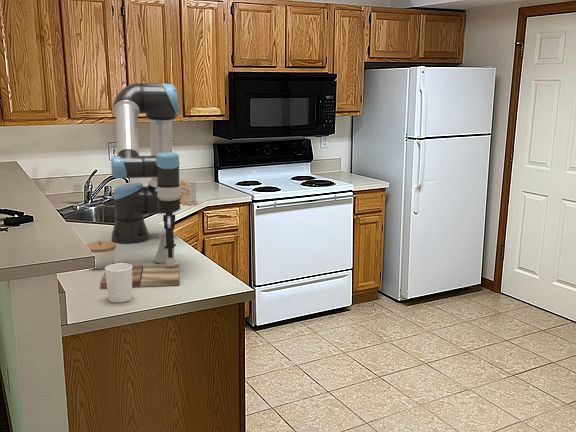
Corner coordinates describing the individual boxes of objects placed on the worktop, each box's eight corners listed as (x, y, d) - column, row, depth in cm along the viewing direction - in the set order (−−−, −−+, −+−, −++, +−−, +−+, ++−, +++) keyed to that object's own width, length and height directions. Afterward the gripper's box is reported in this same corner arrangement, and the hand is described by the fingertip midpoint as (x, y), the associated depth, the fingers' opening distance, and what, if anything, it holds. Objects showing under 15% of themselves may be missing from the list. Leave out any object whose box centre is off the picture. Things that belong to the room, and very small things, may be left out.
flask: (165, 257, 219) (165, 232, 217) (178, 261, 215) (177, 235, 213) (150, 261, 214) (149, 235, 212) (163, 265, 209) (162, 238, 207)
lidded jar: (115, 260, 215) (114, 236, 213) (118, 269, 205) (117, 243, 203) (84, 263, 211) (83, 238, 209) (86, 272, 201) (84, 245, 199)
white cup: (101, 298, 176) (100, 266, 174) (125, 292, 181) (124, 261, 179) (114, 305, 170) (112, 272, 168) (138, 299, 176) (137, 267, 174)
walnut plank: (107, 271, 202) (107, 266, 201) (143, 270, 204) (143, 264, 203) (100, 288, 184) (100, 282, 184) (139, 287, 186) (139, 281, 186)
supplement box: (180, 203, 323) (179, 180, 320) (186, 202, 327) (186, 179, 324) (190, 205, 318) (189, 182, 315) (196, 204, 322) (196, 181, 319)
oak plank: (144, 269, 204) (144, 264, 203) (179, 268, 206) (179, 263, 205) (140, 286, 186) (140, 281, 186) (179, 285, 188) (178, 279, 188)
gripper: (158, 195, 203) (160, 260, 207) (156, 202, 190) (158, 271, 195) (180, 195, 204) (181, 260, 209) (179, 202, 191) (181, 271, 196)
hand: (170, 265), depth 202 cm, fingers closed
